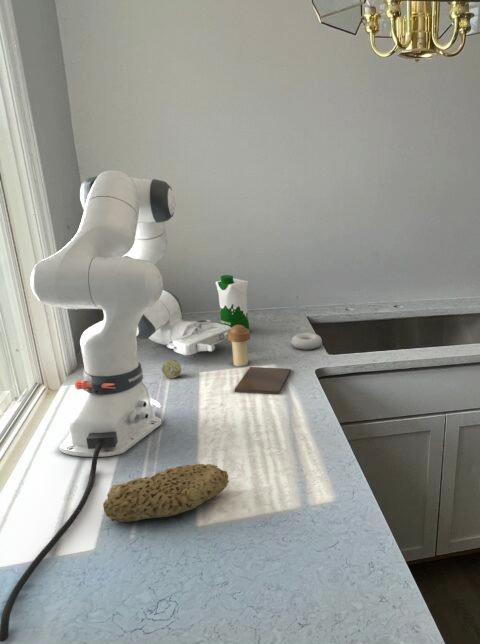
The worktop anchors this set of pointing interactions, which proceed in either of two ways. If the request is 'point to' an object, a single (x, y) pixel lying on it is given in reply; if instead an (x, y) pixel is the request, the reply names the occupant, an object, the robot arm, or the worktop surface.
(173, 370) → the olive green ball
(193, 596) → the worktop surface
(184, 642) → the worktop surface
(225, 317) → the milk carton
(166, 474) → the sponge
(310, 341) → the donut
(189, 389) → the worktop surface
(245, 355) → the mushroom
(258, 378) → the board
